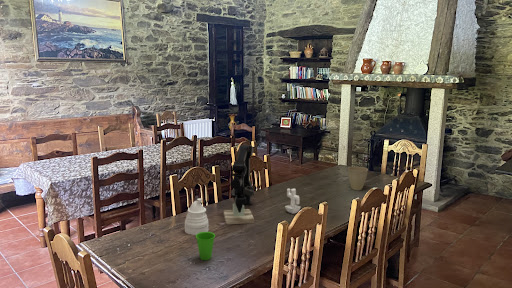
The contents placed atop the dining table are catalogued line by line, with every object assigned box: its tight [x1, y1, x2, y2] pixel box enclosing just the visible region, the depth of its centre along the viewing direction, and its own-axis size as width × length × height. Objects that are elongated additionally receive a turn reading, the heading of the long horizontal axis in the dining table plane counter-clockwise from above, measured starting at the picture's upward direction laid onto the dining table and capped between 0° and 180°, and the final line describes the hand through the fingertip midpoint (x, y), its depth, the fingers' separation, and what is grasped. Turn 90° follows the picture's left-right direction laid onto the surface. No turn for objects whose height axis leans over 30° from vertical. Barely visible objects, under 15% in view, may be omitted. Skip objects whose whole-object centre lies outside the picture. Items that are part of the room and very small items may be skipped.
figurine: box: [284, 188, 302, 215], centre depth 241 cm, size 7×9×15 cm
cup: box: [195, 231, 216, 261], centre depth 180 cm, size 9×9×11 cm
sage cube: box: [232, 202, 245, 217], centre depth 230 cm, size 6×6×6 cm
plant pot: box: [347, 166, 369, 191], centre depth 293 cm, size 15×15×16 cm
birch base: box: [223, 208, 255, 225], centre depth 230 cm, size 16×16×2 cm
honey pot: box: [184, 198, 209, 236], centre depth 211 cm, size 13×13×18 cm
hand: (238, 209), depth 229 cm, fingers open, 9 cm apart
